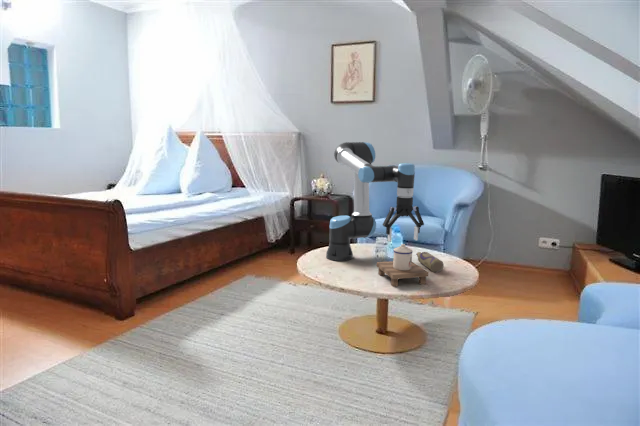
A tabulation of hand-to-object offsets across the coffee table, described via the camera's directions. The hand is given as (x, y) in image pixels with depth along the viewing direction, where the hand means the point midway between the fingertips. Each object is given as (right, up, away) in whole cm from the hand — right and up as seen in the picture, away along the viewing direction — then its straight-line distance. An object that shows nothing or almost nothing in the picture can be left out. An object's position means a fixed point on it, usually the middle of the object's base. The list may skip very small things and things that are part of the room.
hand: (402, 240), depth 206 cm
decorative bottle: (+19, -15, +25) cm, 35 cm away
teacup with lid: (0, -13, +2) cm, 13 cm away
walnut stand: (0, -19, +3) cm, 19 cm away
